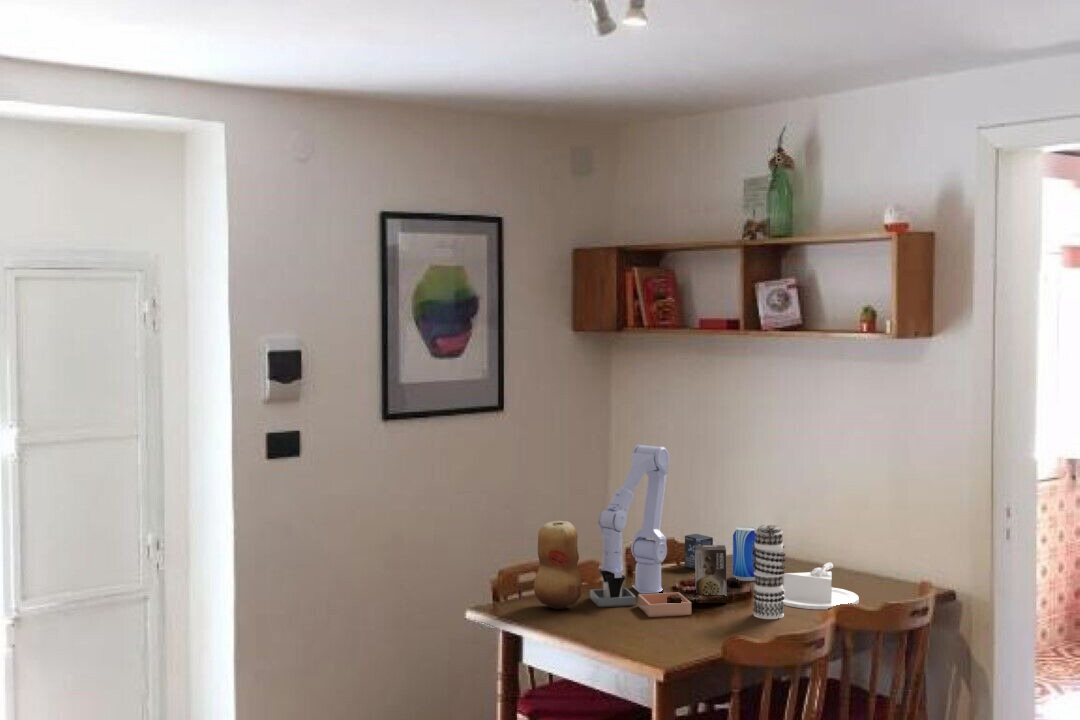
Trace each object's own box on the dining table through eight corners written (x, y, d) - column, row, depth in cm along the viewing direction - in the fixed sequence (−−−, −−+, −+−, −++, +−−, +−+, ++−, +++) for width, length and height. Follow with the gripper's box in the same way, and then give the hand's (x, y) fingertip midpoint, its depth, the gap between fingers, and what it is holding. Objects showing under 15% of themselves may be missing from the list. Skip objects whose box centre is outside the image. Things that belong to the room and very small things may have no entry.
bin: (638, 606, 359) (638, 594, 358) (679, 604, 361) (679, 592, 360) (649, 617, 347) (649, 604, 346) (691, 614, 349) (691, 602, 348)
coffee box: (725, 599, 366) (725, 544, 365) (727, 604, 360) (727, 549, 359) (694, 598, 367) (694, 544, 366) (695, 604, 361) (695, 548, 360)
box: (684, 567, 410) (684, 535, 409) (697, 564, 413) (697, 533, 412) (700, 571, 403) (700, 539, 403) (713, 569, 407) (713, 536, 406)
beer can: (740, 574, 398) (740, 524, 397) (764, 577, 393) (764, 527, 392) (728, 579, 391) (728, 529, 390) (752, 582, 386) (752, 531, 386)
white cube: (603, 598, 366) (603, 581, 366) (618, 597, 367) (618, 581, 367) (606, 602, 362) (606, 585, 361) (622, 601, 362) (621, 584, 362)
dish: (857, 591, 375) (857, 554, 374) (859, 612, 351) (859, 573, 350) (774, 588, 381) (774, 551, 380) (770, 608, 356) (771, 569, 356)
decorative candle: (749, 611, 352) (749, 523, 351) (782, 611, 352) (782, 523, 351) (754, 619, 343) (754, 529, 342) (788, 619, 343) (788, 529, 341)
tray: (589, 598, 369) (589, 589, 369) (626, 596, 371) (626, 587, 371) (598, 607, 358) (598, 598, 358) (636, 605, 360) (636, 596, 360)
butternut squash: (533, 614, 351) (532, 526, 350) (535, 602, 364) (534, 517, 363) (582, 614, 350) (581, 526, 349) (582, 602, 364) (582, 517, 362)
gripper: (593, 546, 370) (594, 591, 371) (604, 556, 356) (604, 603, 356) (616, 545, 371) (617, 590, 372) (628, 555, 357) (628, 602, 358)
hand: (612, 597), depth 364 cm, fingers closed on white cube, 4 cm apart
